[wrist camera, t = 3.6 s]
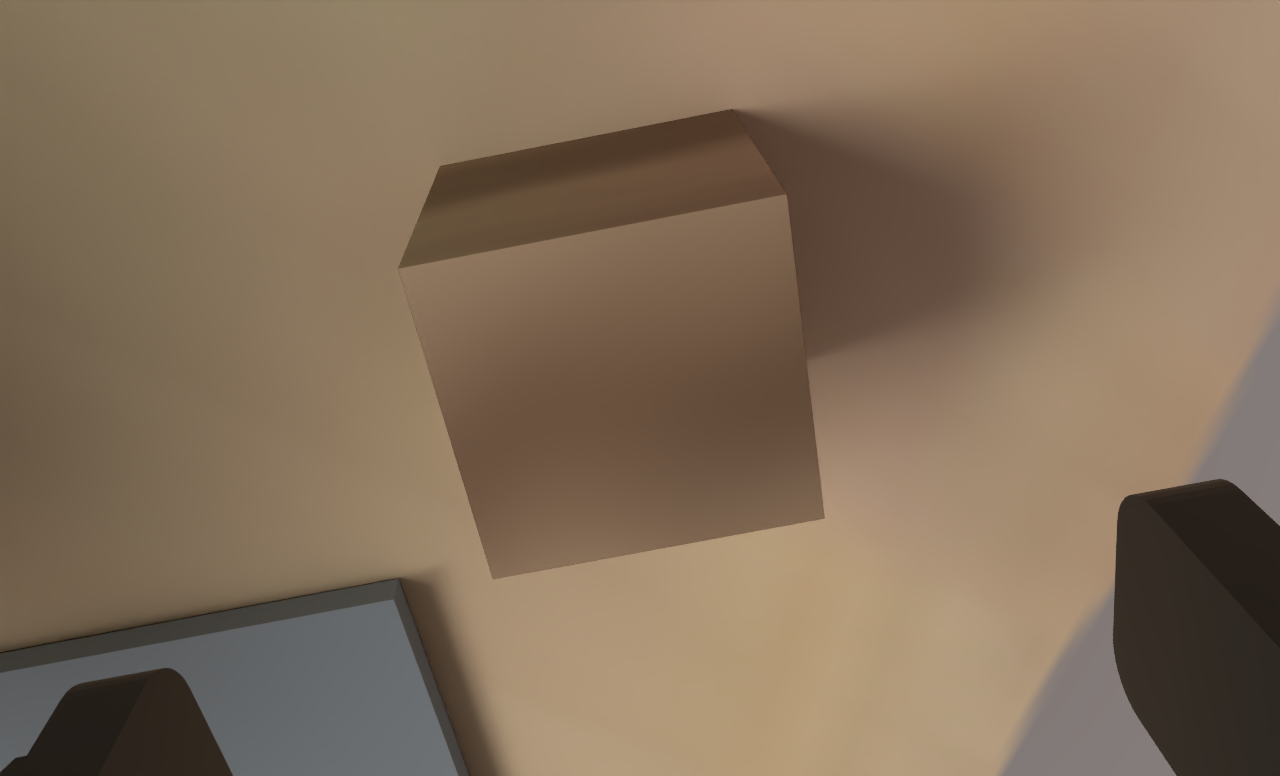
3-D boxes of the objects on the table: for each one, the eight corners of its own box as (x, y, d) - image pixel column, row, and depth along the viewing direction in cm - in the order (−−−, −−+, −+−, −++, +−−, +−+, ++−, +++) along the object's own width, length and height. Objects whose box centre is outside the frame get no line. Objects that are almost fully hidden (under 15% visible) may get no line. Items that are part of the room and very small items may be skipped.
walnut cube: (440, 164, 16) (397, 268, 12) (731, 108, 16) (786, 194, 12) (509, 418, 18) (492, 579, 14) (767, 369, 18) (824, 518, 14)
